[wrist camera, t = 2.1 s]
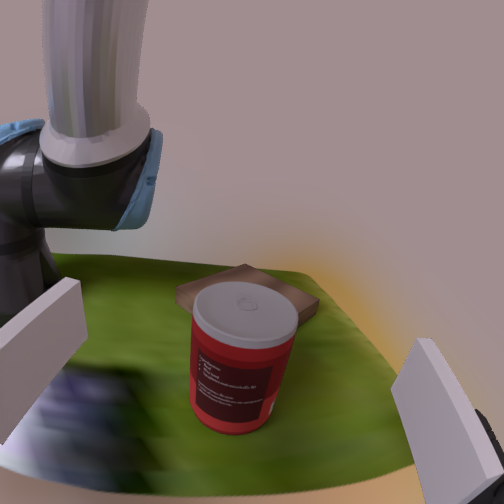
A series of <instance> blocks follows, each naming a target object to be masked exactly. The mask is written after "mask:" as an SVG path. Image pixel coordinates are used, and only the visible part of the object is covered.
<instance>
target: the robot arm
mask: <svg viewBox="0 0 504 504" xmlns="http://www.w3.org/2000/svg"><path fill="white" fill-rule="evenodd" d="M147 5H148V0H42V47H43V64H44V76H45V85H46V95H47V101H48V109H49V116H50V118H49V119H48V121H47V122H46V123H45V121H44V120H43V119H29V120H23V121H17V122H14V123H7V124H3V125H0V327H2V328H0V444H2V445H3V444H4V442H5V441H6V440H7V438H8V437H9V435H10V434H11V433H12V431H13V430H14V429H15V427H16V426H17V425H18V423H19V422H20V421H21V419H22V418H23V417H24V415H25V414H26V413H27V411H28V410H29V409H30V407H31V406H32V405H33V403H34V402H35V401H36V400H37V398H38V397H39V396H40V395H41V393H42V392H43V391H44V390H45V388H46V387H47V386H48V385H49V383H50V382H51V381H52V380H53V378H54V377H55V376H56V375H57V373H58V372H59V371H60V370H61V369H62V367H63V366H64V365H65V364H66V363H67V361H68V360H69V359H70V358H71V357H72V355H73V354H74V353H75V352H76V351H77V350H78V348H79V347H80V346H81V345H82V344H83V343H84V341H85V340H86V339H87V338H88V332H87V326H86V320H85V314H84V307H83V300H82V292H81V284H80V281H79V280H76V279H72V278H68V277H65V278H64V279H61V275H60V272H59V270H58V267H57V265H56V263H55V261H54V259H53V256H52V254H51V252H50V250H49V247H48V245H47V243H46V239H45V230H44V228H71V229H94V230H95V229H96V230H111V231H117V230H121V229H123V230H124V229H138V228H140V227H142V226H143V225H144V224H145V223H146V222H147V220H148V217H149V214H150V210H151V205H152V201H153V195H154V191H155V181H156V178H157V173H158V169H159V163H160V157H161V150H162V143H163V134H162V133H161V132H160V131H158V130H155V129H154V128H150V118H149V115H148V113H147V111H146V110H145V109H144V108H143V107H142V106H141V105H140V104H138V103H137V102H136V100H137V86H138V74H139V64H140V54H141V46H142V38H143V30H144V24H145V17H146V11H147ZM391 392H392V395H393V398H394V400H395V403H396V406H397V409H398V412H399V415H400V418H401V421H402V424H403V427H404V430H405V433H406V436H407V439H408V442H409V446H410V449H411V452H412V455H413V459H414V462H415V466H416V469H417V473H418V476H419V480H420V483H421V487H422V491H423V494H424V499H425V503H426V504H504V452H503V451H502V448H501V446H500V444H499V442H498V440H496V437H495V434H494V432H493V431H491V430H492V428H491V427H490V425H489V423H488V421H487V419H486V418H485V417H484V416H483V415H482V414H481V413H480V412H479V411H478V410H477V409H473V407H472V405H471V403H470V401H469V399H468V398H467V396H466V394H465V392H464V390H463V389H462V387H461V386H460V383H459V382H458V380H457V378H456V377H455V375H454V373H453V372H452V370H451V368H450V367H449V365H448V364H447V362H446V360H445V359H444V357H443V355H442V354H441V352H440V351H439V349H438V347H437V346H436V344H435V343H434V341H433V340H432V339H430V338H416V340H415V342H414V344H413V346H412V348H411V351H410V353H409V355H408V357H407V359H406V361H405V363H404V365H403V367H402V368H401V371H400V372H399V374H398V376H397V378H396V380H395V382H394V383H393V385H392V387H391Z"/></svg>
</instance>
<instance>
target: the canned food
mask: <svg viewBox="0 0 504 504" xmlns="http://www.w3.org/2000/svg"><path fill="white" fill-rule="evenodd" d="M297 326H298V312H297V310H296V308H295V306H294V305H293V304H292V302H290V301H289V300H288V299H287V298H286V297H285V296H283V295H282V294H280V293H278V292H276V291H274V290H272V289H270V288H267V287H265V286H261V285H257V284H253V283H247V282H222V283H217V284H213V285H211V286H208V287H206V288H205V289H203V290H201V291H200V292H199V293H198V295H197V296H196V298H195V301H194V306H193V315H192V328H191V354H190V397H189V399H190V404H191V406H192V409H193V411H194V413H195V415H196V416H197V418H198V419H199V420H200V422H202V423H203V424H204V425H205V426H206V427H208V428H210V429H211V430H213V431H216V432H219V433H222V434H227V435H242V434H247V433H250V432H253V431H254V430H256V429H258V428H259V427H260V426H261V425H262V424H263V423H265V422H266V421H267V419H268V418H269V416H270V415H271V412H272V409H273V406H274V403H275V400H276V397H277V394H278V391H279V388H280V385H281V381H282V378H283V375H284V372H285V369H286V365H287V362H288V359H289V355H290V352H291V348H292V345H293V341H294V338H295V333H296V330H297Z"/></svg>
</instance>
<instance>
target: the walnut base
mask: <svg viewBox="0 0 504 504" xmlns="http://www.w3.org/2000/svg"><path fill="white" fill-rule="evenodd" d="M222 282H247V283H253V284H257V285H261V286H265V287H267V288H270V289H272V290H274V291H276V292H278V293H280V294H282V295H283V296H285V297H286V298H287V299H288V300H289V301H290V302H292V304H293V305H294V306H295V308H296V310H297V312H298V326H300V325H301V324H303V323H304V322H305V321H307V320H308V319H309V318H311V317H312V316H314V315H315V314H316V311H317V307H318V304H319V300H320V299H318V298H316V297H314V296H312V295H310V294H308V293H306V292H303V291H301V290H299V289H297V288H295V287H293V286H291V285H289V284H287V283H285V282H282V281H280V280H278V279H276V278H274V277H272V276H270V275H268V274H266V273H264V272H262V271H259V270H257V269H255V268H253V267H251V266H249V265H247V264H243V265H240V266H237V267H234V268H231V269H228V270H225V271H222V272H219V273H216V274H213V275H210V276H207V277H204V278H201V279H198V280H195V281H192V282H189V283H186V284H183V285H180V286H177V287H176V303H177V304H178V305H179V306H181V307H182V308H183V309H185V310H186V311H188V312H189V313H190V314H192V315H193V306H194V301H195V298H196V296H197V295H198V293H199V292H200V291H201V290H203V289H205V288H206V287H208V286H211V285H213V284H217V283H222ZM298 326H297V327H298Z"/></svg>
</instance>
